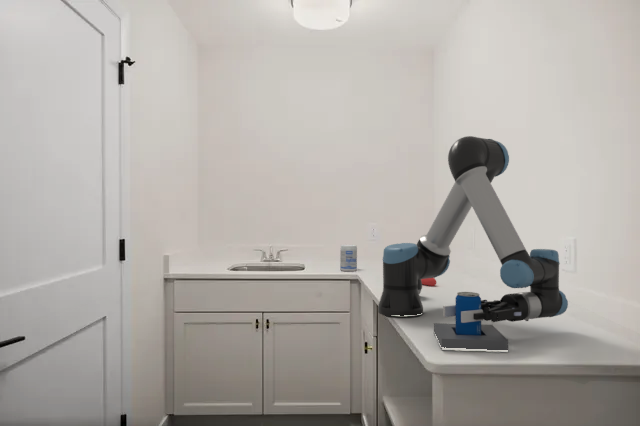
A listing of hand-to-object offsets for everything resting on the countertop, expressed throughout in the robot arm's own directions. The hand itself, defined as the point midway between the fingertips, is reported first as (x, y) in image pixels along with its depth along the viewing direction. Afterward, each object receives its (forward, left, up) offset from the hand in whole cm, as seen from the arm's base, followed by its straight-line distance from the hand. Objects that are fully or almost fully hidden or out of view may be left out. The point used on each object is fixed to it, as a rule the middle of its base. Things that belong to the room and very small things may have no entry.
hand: (452, 314), depth 121 cm
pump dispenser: (-67, -7, -8) cm, 67 cm away
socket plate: (-3, +4, -8) cm, 9 cm away
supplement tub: (-145, -36, -8) cm, 149 cm away
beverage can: (-3, +4, -7) cm, 9 cm away
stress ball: (-97, +4, -8) cm, 97 cm away
